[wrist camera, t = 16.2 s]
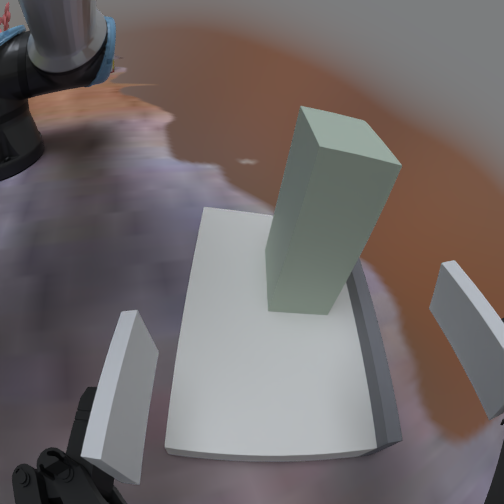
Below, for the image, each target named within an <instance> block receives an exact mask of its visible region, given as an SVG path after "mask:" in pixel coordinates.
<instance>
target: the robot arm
mask: <svg viewBox="0 0 504 504" xmlns="http://www.w3.org/2000/svg"><path fill="white" fill-rule="evenodd" d="M18 1H19V4H20V7H21V9H22V12H23V14H24V17H25V19H26V22H27V24H28V27H29V29H30V31H27V32H25V31H26V28H25V27H24V25H19V26H16V27H13V28H11V29H8V30H6V31H4V32H1V33H0V180H2V179H5V178H7V177H10V176H12V175H14V174H16V173H18V172H20V171H22V170H24V169H25V168H27V167H28V166H30V165H31V164H32V163H34V162H35V161H36V160H37V159H38V158H39V157H40V156H41V154H42V153H43V151H44V145H43V138H42V135H41V133H40V132H39V131H38V129H37V127H36V124H35V122H34V120H33V118H32V116H31V113H30V111H29V104H28V98H31V97H35V96H39V95H43V94H48V93H52V92H57V91H62V90H67V89H73V88H79V87H90V86H92V85H95V84H100V83H103V82H105V81H106V80H107V79H108V77H109V75H110V72H111V69H112V63H113V60H112V59H113V56H114V50H115V38H116V26H115V21H114V20H113V18H112V17H105V16H103V14H102V13H101V12H100V11H99V10H98V9H97V8H96V6H97V0H18ZM429 309H430V311H431V312H432V314H433V315H434V317H435V319H436V320H437V322H438V324H439V325H440V327H441V329H442V330H443V332H444V334H445V335H446V337H447V339H448V341H449V342H450V344H451V346H452V348H453V350H454V351H455V353H456V355H457V357H458V358H459V360H460V362H461V364H462V366H463V368H464V370H465V372H466V374H467V376H468V377H469V379H470V381H471V383H472V385H473V387H474V389H475V391H476V393H477V395H478V397H479V399H480V402H481V404H482V406H483V408H484V410H485V412H486V414H487V416H488V419H489V420H491V419H493V418H495V417H497V416H499V415H500V414H502V413H503V412H504V318H502V319H500V317H499V316H498V315H497V313H496V312H495V310H494V309H493V308H492V306H491V305H490V304H489V302H488V301H487V300H486V298H485V297H484V296H483V295H482V293H481V292H480V291H479V290H478V288H477V287H476V286H475V285H474V283H473V282H472V281H471V279H470V278H469V277H468V276H467V275H466V273H464V271H463V270H462V269H461V267H460V266H459V265H458V264H457V263H456V261H455V260H454V261H449V262H444V263H441V267H440V271H439V275H438V279H437V283H436V287H435V290H434V294H433V297H432V301H431V304H430V308H429ZM158 354H159V351H158V349H157V347H156V345H155V343H154V341H153V340H152V338H151V336H150V334H149V332H148V330H147V328H146V326H145V324H144V322H143V320H142V318H141V316H140V314H139V312H138V310H131V311H122V312H121V315H120V317H119V320H118V323H117V326H116V329H115V332H114V335H113V338H112V341H111V344H110V347H109V351H108V354H107V357H106V360H105V364H104V367H103V370H102V374H101V377H100V381H99V384H98V387H88V388H87V389H86V391H85V392H84V394H83V395H82V396H81V398H80V402H79V405H78V409H77V410H78V411H77V412H76V416H75V421H74V423H73V427H72V431H71V435H70V439H69V443H68V447H67V451H66V454H65V453H64V452H63V451H61V450H59V449H58V448H52V447H50V448H48V449H45V450H44V451H43V452H42V453H41V454H40V456H39V458H38V460H37V469H34V468H33V467H31V466H30V465H28V464H21V465H19V466H17V467H16V469H15V470H14V472H13V475H12V483H13V490H14V497H15V503H16V504H127V503H126V502H125V500H124V499H123V497H122V496H121V494H120V493H119V491H118V490H117V488H116V487H115V486H114V485H113V482H114V478H115V479H116V480H118V481H119V482H121V483H128V484H136V485H140V477H141V468H142V459H143V451H144V443H145V435H146V428H147V421H148V414H149V407H150V401H151V395H152V389H153V383H154V377H155V371H156V365H157V360H158ZM503 424H504V419H503V420H502V422H501V424H500V425H503ZM484 504H504V441H503V445H502V449H501V453H500V456H499V460H498V464H497V467H496V470H495V474H494V477H493V480H492V483H491V486H490V489H489V492H488V495H487V497H486V500H485V503H484Z"/></svg>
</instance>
